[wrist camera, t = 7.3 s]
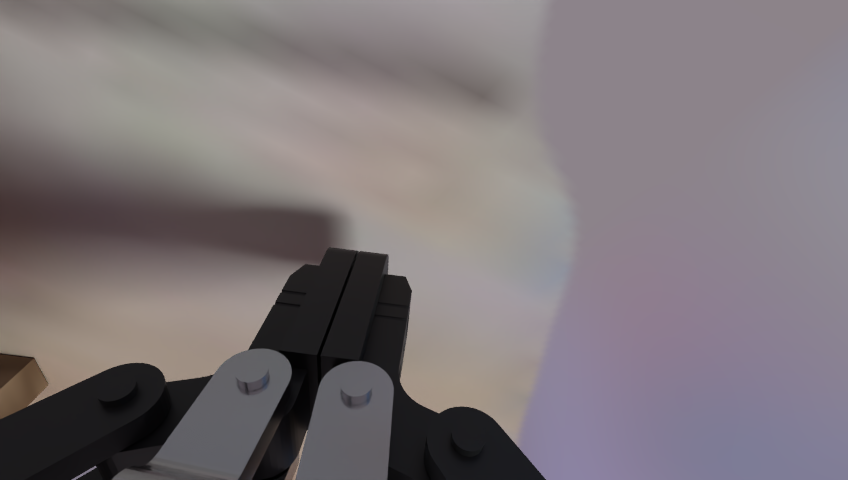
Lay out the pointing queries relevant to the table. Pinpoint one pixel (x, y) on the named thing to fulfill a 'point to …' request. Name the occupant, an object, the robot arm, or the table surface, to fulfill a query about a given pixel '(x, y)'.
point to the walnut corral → (18, 383)
